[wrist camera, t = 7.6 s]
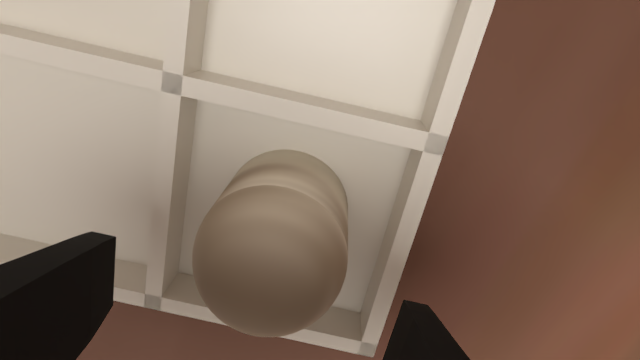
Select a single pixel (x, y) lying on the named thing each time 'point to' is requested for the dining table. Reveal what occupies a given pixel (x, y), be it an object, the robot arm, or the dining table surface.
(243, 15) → the white compartment tray
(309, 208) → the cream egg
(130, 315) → the dining table surface
